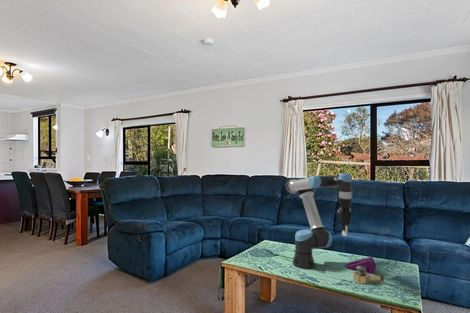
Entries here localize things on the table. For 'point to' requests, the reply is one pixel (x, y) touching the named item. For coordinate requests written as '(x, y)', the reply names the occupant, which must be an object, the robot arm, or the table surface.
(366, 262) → the mounting bracket
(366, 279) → the collar
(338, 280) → the table surface
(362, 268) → the base
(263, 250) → the table surface
